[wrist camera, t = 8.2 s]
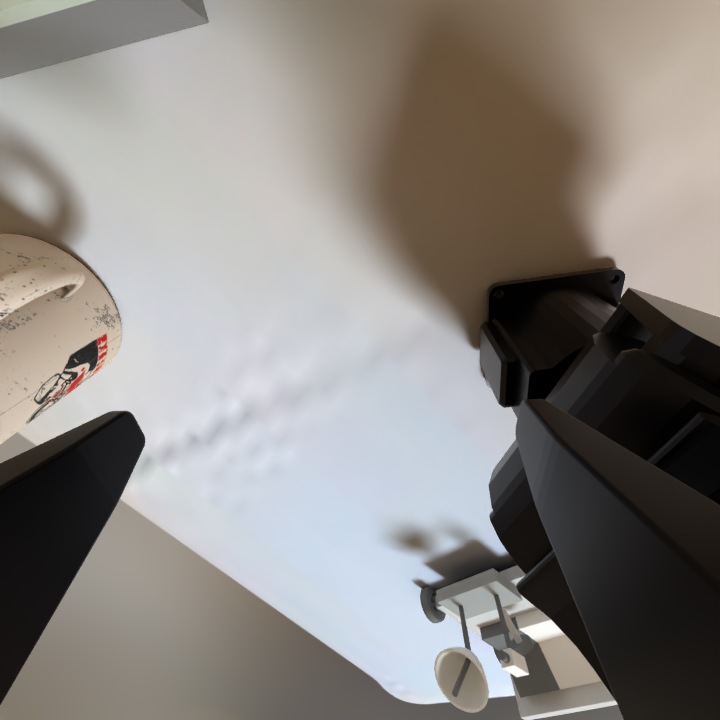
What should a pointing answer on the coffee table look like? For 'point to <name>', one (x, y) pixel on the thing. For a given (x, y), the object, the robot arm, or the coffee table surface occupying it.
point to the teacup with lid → (48, 328)
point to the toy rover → (511, 649)
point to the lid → (31, 9)
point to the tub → (91, 30)
